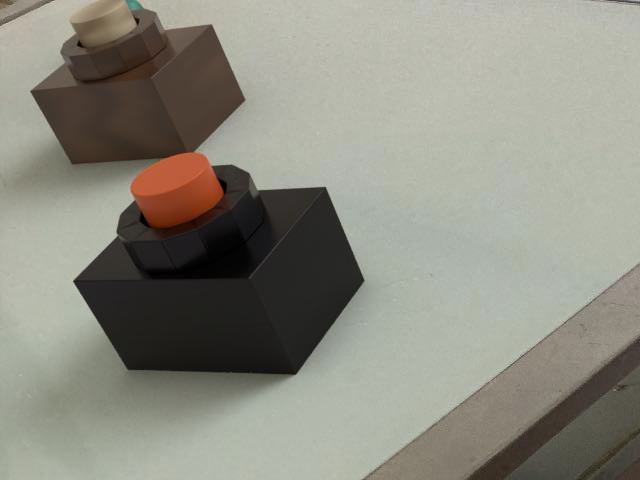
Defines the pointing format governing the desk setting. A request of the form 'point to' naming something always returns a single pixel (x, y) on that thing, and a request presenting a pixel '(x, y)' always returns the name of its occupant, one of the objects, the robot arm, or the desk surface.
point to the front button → (176, 190)
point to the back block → (139, 93)
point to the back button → (102, 22)
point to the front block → (225, 282)
